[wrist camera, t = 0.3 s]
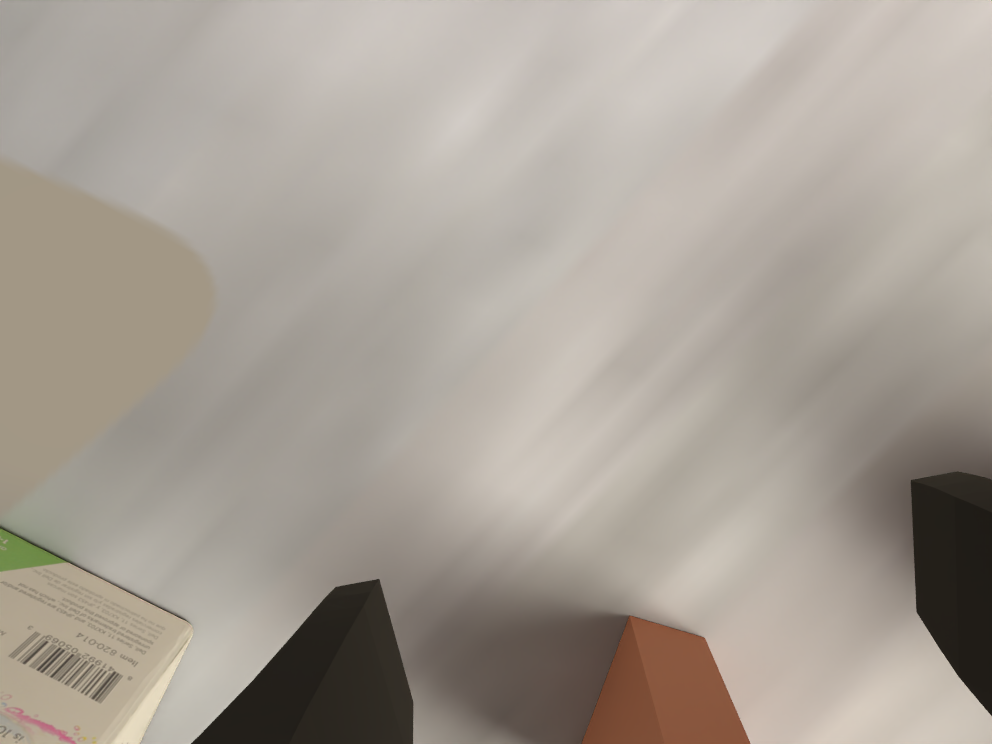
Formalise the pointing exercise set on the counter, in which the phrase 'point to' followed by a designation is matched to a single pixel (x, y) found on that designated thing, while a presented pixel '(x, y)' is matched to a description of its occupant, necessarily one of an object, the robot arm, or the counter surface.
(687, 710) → the domino
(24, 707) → the ink box
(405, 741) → the robot arm
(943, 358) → the counter surface
